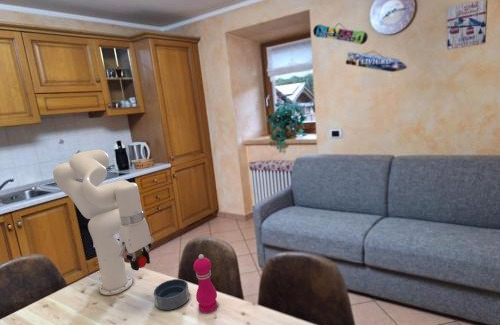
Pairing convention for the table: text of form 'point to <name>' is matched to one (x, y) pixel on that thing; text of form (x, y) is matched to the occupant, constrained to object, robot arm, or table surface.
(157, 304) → the bowl
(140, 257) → the strawberry
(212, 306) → the pepper mill
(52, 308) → the table surface
